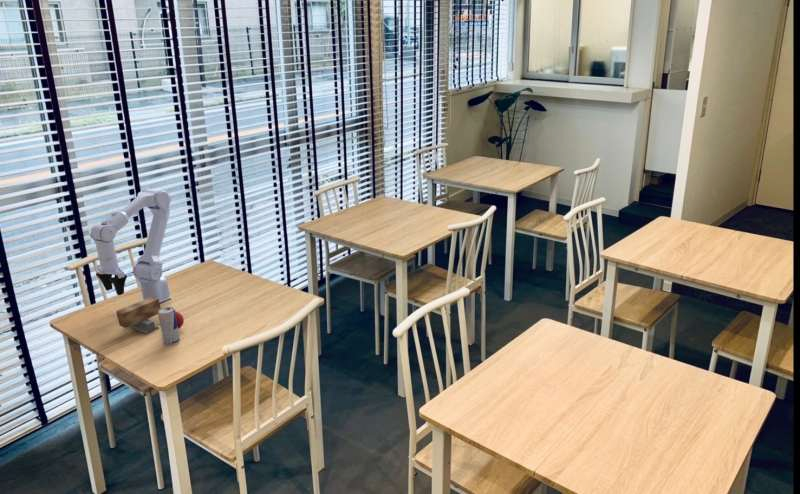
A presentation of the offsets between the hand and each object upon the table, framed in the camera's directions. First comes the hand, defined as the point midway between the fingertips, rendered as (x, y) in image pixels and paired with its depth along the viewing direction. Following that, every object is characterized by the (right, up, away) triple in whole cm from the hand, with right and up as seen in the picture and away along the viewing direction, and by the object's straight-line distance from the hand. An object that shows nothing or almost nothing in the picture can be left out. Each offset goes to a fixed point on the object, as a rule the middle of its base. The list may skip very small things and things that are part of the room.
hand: (114, 292), depth 230 cm
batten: (+12, -9, -5) cm, 16 cm away
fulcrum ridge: (+12, -12, -4) cm, 17 cm away
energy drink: (+26, -16, -16) cm, 35 cm away
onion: (+25, -13, -8) cm, 29 cm away
